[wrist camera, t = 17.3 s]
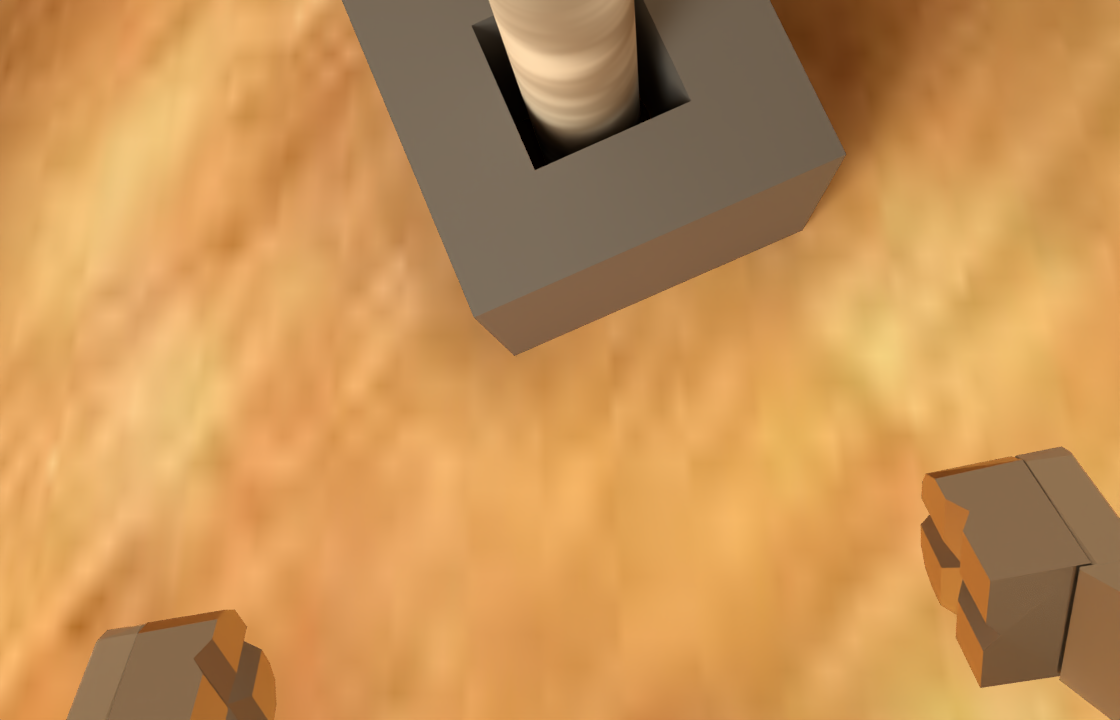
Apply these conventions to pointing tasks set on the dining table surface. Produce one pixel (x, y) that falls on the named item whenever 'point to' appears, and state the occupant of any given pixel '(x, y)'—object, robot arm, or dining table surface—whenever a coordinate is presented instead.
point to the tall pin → (573, 68)
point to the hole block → (601, 158)
